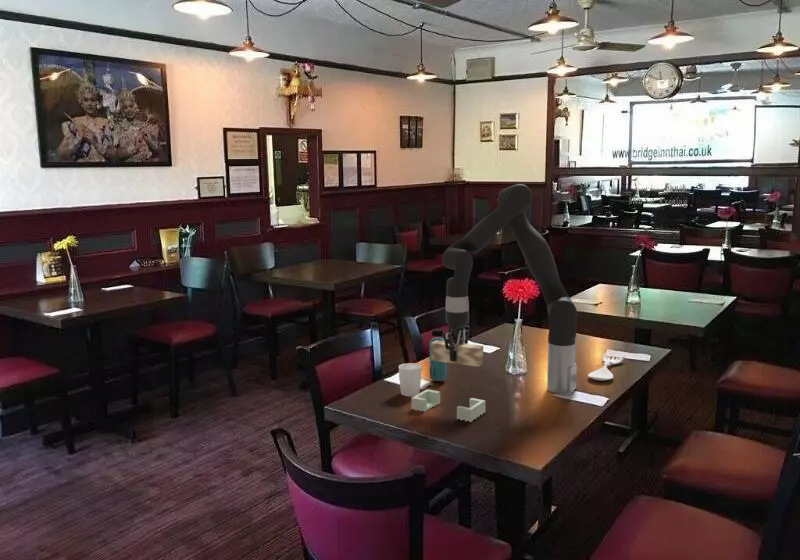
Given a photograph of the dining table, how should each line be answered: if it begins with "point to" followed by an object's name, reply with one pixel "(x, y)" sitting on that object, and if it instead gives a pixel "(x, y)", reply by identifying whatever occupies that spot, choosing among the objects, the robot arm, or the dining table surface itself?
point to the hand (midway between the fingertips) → (456, 359)
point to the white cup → (410, 379)
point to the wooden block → (458, 353)
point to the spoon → (605, 369)
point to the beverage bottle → (437, 367)
